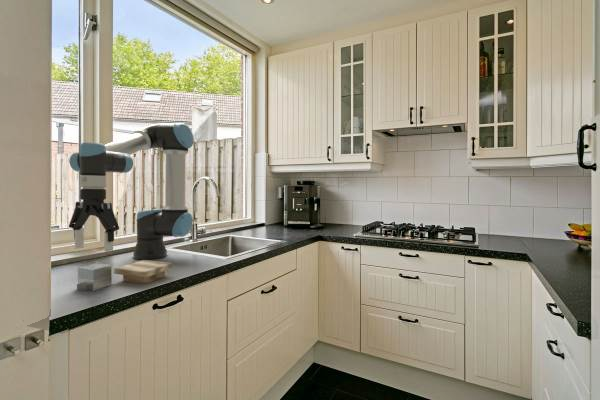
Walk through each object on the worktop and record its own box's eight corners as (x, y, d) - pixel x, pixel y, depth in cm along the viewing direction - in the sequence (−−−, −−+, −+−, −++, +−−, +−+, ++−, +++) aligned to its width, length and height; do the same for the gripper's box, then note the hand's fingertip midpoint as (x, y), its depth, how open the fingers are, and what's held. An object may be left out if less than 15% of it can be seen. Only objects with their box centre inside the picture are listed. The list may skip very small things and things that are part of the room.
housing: (96, 282, 118) (96, 263, 118) (111, 284, 116) (111, 265, 116) (73, 289, 110) (73, 269, 110) (89, 292, 108) (88, 271, 107)
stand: (143, 272, 132) (143, 259, 132) (172, 275, 128) (172, 263, 127) (114, 281, 119) (114, 268, 119) (145, 286, 114) (144, 272, 114)
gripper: (56, 187, 112) (56, 248, 113) (111, 188, 104) (112, 254, 105) (77, 187, 119) (77, 245, 120) (130, 188, 112) (130, 250, 112)
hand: (93, 249), depth 113 cm, fingers open, 13 cm apart
